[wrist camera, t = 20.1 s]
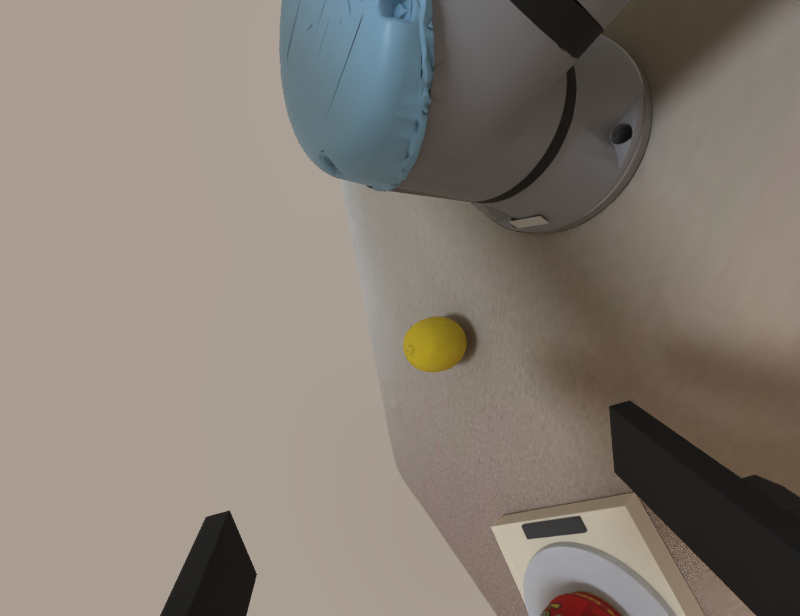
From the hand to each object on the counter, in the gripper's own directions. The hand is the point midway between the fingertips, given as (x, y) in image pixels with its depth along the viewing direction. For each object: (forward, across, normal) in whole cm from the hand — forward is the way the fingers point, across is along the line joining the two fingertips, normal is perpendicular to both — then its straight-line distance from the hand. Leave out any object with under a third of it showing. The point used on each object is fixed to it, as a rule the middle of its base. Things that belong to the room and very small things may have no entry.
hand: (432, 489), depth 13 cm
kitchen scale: (+12, +13, -27) cm, 32 cm away
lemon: (+28, +8, -7) cm, 30 cm away
